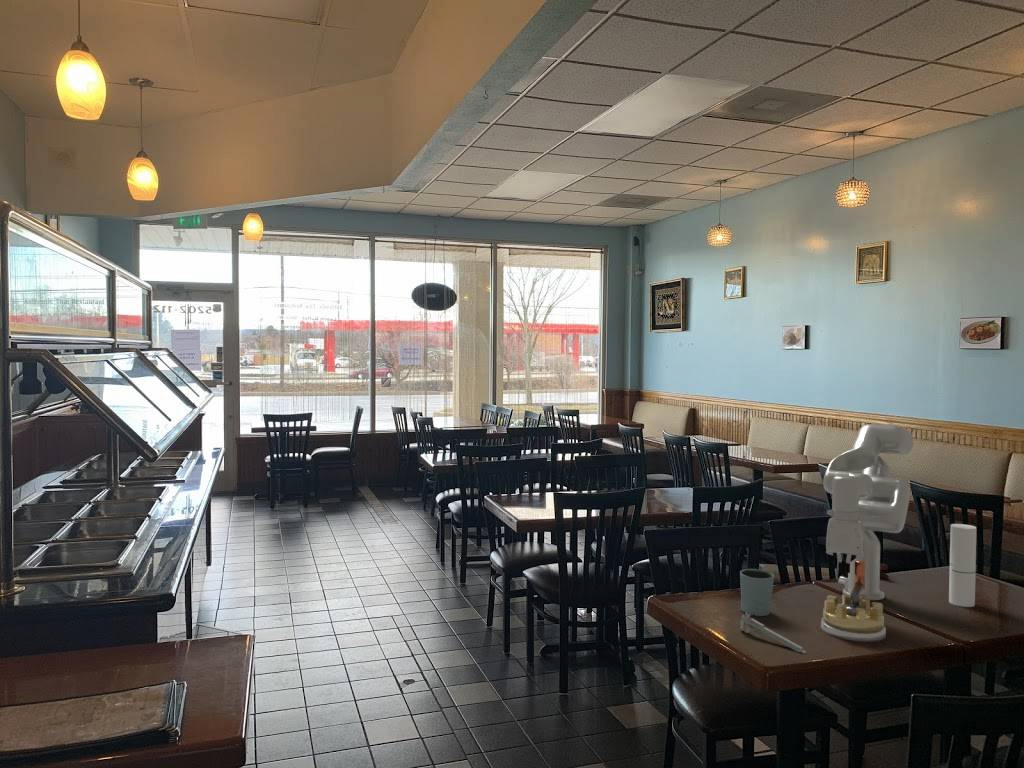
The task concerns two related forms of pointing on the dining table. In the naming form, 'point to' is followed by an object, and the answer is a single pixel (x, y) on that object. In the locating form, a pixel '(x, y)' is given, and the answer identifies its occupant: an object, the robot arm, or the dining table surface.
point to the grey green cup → (756, 591)
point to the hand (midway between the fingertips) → (844, 574)
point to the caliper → (766, 632)
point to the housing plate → (853, 634)
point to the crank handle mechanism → (854, 608)
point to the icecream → (882, 574)
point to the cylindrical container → (962, 565)
